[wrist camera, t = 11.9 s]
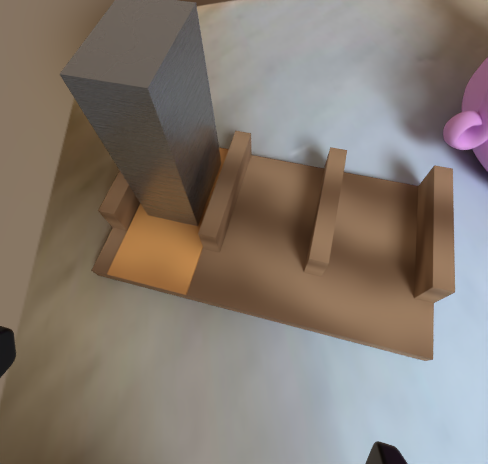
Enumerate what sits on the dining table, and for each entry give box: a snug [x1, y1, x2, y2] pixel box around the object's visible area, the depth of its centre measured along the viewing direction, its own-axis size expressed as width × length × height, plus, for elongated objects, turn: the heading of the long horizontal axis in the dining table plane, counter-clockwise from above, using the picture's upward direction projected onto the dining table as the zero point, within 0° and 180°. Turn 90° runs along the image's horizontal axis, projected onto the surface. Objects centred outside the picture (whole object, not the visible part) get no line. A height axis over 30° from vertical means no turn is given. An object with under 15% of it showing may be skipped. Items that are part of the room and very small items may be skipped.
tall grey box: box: [60, 0, 221, 226], centre depth 20 cm, size 6×4×12 cm, turn 165°
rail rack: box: [91, 131, 455, 361], centre depth 23 cm, size 12×23×4 cm, turn 75°
